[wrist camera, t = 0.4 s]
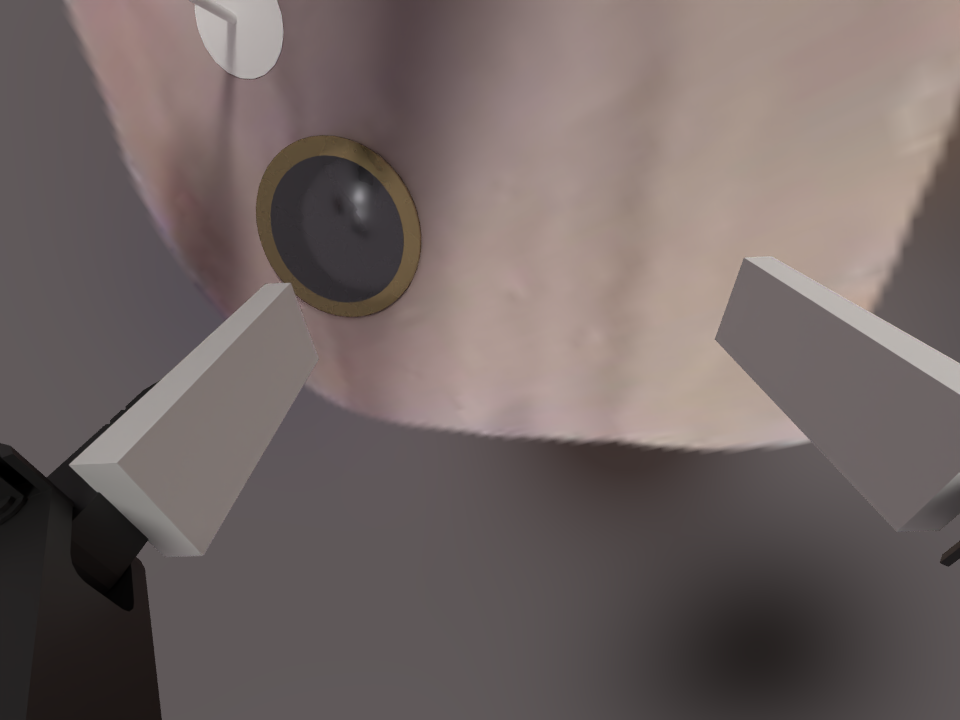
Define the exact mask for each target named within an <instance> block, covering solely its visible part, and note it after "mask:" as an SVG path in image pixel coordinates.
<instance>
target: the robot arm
mask: <svg viewBox="0 0 960 720" xmlns="http://www.w3.org/2000/svg"><path fill="white" fill-rule="evenodd" d="M715 340H716V341H717V342H718V343H719V344H720V345H721V346H722V347H723V348H724V350H725V351H726V352H727V353H728V354H729V355H730V356H731V357H732V358H733V359H734V360H735V361H736V362H737V363H738V364H739V365H740V366H741V367H742V369H743V370H744V371H745V372H746V373H747V374H748V375H749V376H750V377H751V378H752V379H753V380H754V381H755V382H756V383H757V384H758V385H759V387H760V388H761V389H762V390H763V391H764V392H765V393H766V394H767V395H768V396H769V397H770V398H771V399H772V400H773V401H774V402H775V403H776V405H777V406H778V407H779V408H780V409H781V410H782V411H783V412H784V413H785V414H786V415H787V416H788V417H789V418H790V419H791V420H792V421H793V423H794V424H795V425H796V426H797V427H798V428H799V429H800V430H801V431H802V432H803V433H804V434H805V435H806V436H807V437H808V438H809V439H810V440H811V442H812V443H813V444H814V445H815V446H816V447H817V448H818V449H819V450H820V451H821V452H822V453H823V454H824V455H825V456H826V457H827V458H828V460H829V461H830V462H831V463H832V464H833V465H834V466H835V467H836V468H837V469H838V470H839V471H840V472H841V473H842V474H843V475H844V476H845V477H846V479H847V480H848V481H849V482H850V483H851V484H852V485H853V486H854V487H855V488H856V489H857V490H858V491H859V492H860V493H861V494H862V496H864V498H866V500H867V501H868V502H869V503H870V504H871V505H872V506H873V507H874V508H875V509H876V510H877V511H878V512H879V513H880V515H881V516H882V517H883V518H884V519H885V520H886V521H887V522H888V523H889V524H890V525H891V526H892V527H893V528H894V529H895V530H896V531H897V532H909V531H934V530H935V531H938V530H941V529H942V528H943V527H944V526H945V525H947V524H948V523H949V522H950V521H951V520H952V519H954V518H955V517H956V516H957V515H958V514H959V513H960V363H958V362H956V361H954V360H953V359H951V358H949V357H947V356H946V355H944V354H942V353H940V352H939V351H937V350H935V349H933V348H932V347H930V346H928V345H926V344H925V343H923V342H921V341H919V340H918V339H916V338H914V337H912V336H911V335H909V334H907V333H905V332H904V331H902V330H900V329H898V328H897V327H895V326H893V325H891V324H890V323H888V322H886V321H884V320H883V319H881V318H879V317H877V316H876V315H874V314H872V313H870V312H869V311H867V310H865V309H863V308H862V307H860V306H858V305H856V304H855V303H853V302H851V301H849V300H848V299H846V298H844V297H842V296H841V295H839V294H837V293H835V292H834V291H832V290H830V289H828V288H827V287H825V286H823V285H821V284H820V283H818V282H816V281H814V280H813V279H811V278H809V277H807V276H805V275H804V274H802V273H800V272H798V271H797V270H795V269H793V268H791V267H790V266H788V265H786V264H784V263H783V262H781V261H779V260H777V259H776V258H774V257H772V256H765V257H747V258H744V259H743V262H742V265H741V268H740V270H739V273H738V276H737V279H736V282H735V284H734V287H733V290H732V293H731V296H730V298H729V301H728V304H727V307H726V310H725V312H724V315H723V318H722V321H721V324H720V326H719V329H718V332H717V335H716V338H715ZM318 360H319V358H318V355H317V352H316V349H315V347H314V344H313V341H312V339H311V336H310V333H309V331H308V328H307V325H306V322H305V320H304V317H303V314H302V312H301V309H300V306H299V304H298V301H297V298H296V295H295V293H294V290H293V287H292V285H291V283H275V284H265V285H264V286H263V287H262V288H260V289H259V290H258V291H257V292H256V293H255V294H254V295H253V296H252V297H251V298H250V299H248V300H247V301H246V302H245V303H244V304H243V305H242V306H241V307H240V308H239V309H238V310H237V311H235V312H234V313H233V314H232V315H231V316H230V317H229V318H228V319H227V320H226V321H225V322H223V323H222V324H221V325H220V326H219V327H218V328H217V329H216V330H215V331H214V332H213V333H211V334H210V335H209V336H208V337H207V338H206V339H205V340H204V341H203V342H202V343H201V344H200V345H198V346H197V347H196V348H195V349H194V350H193V351H192V352H191V353H190V354H189V355H188V356H186V357H185V358H184V359H183V360H182V361H181V362H180V363H179V364H178V365H177V366H176V367H174V368H173V369H172V370H171V371H170V372H169V373H168V374H167V375H166V376H165V377H164V378H163V379H161V380H160V381H158V382H157V383H155V384H153V385H151V386H150V387H148V388H146V389H145V390H143V391H142V392H141V393H140V394H139V395H138V396H137V397H136V398H135V399H134V400H132V401H131V402H130V403H129V404H128V405H127V406H126V409H125V410H121V411H120V412H119V413H118V414H117V415H116V416H114V417H113V418H112V419H111V420H110V424H106V425H105V426H103V427H102V428H101V429H100V430H99V431H98V432H97V433H96V434H95V435H93V436H92V437H91V438H90V439H89V440H88V441H87V442H86V443H85V444H83V445H82V447H80V448H79V449H78V450H77V451H76V452H75V453H74V454H72V455H71V456H70V457H69V458H68V459H67V460H66V461H65V462H63V463H62V464H61V465H60V466H59V467H58V468H57V469H56V470H55V471H54V472H52V473H51V474H50V475H49V476H48V477H47V478H46V477H45V476H44V475H43V474H42V473H41V472H39V471H38V470H37V469H36V468H35V467H34V466H33V465H31V464H30V463H29V462H28V461H27V460H26V459H25V458H24V457H22V456H21V455H20V454H19V453H18V452H17V451H16V450H15V449H13V448H12V447H11V446H9V445H5V444H1V443H0V720H162V718H161V709H160V700H159V691H158V683H157V674H156V664H155V656H154V646H153V637H152V628H151V619H150V610H149V601H148V593H147V584H146V575H145V568H144V566H143V564H142V562H141V561H140V560H139V559H138V558H137V557H136V556H137V554H138V553H139V552H140V550H141V549H142V548H143V546H144V545H145V543H146V542H147V541H149V542H150V543H151V544H152V545H153V546H154V547H155V548H156V549H157V550H158V551H159V552H160V553H161V554H162V555H163V556H164V557H179V556H203V555H204V553H205V552H206V550H207V548H208V547H209V545H210V543H211V541H212V540H213V538H214V536H215V535H216V533H217V531H218V530H219V528H220V526H221V524H222V523H223V521H224V519H225V518H226V516H227V514H228V513H229V511H230V509H231V508H232V506H233V504H234V502H235V501H236V499H237V497H238V495H239V494H240V492H241V490H242V489H243V487H244V485H245V484H246V482H247V480H248V479H249V477H250V475H251V473H252V472H253V470H254V468H255V466H256V465H257V463H258V461H259V460H260V458H261V457H262V455H263V453H264V451H265V450H266V448H267V446H268V445H269V443H270V441H271V440H272V438H273V436H274V434H275V433H276V431H277V429H278V428H279V426H280V424H281V422H282V421H283V419H284V417H285V416H286V414H287V412H288V410H289V409H290V407H291V406H292V403H293V402H294V400H295V399H296V397H297V395H298V394H299V392H300V390H301V389H302V387H303V385H304V383H305V382H306V380H307V378H308V377H309V375H310V373H311V372H312V370H313V368H314V366H315V365H316V363H317V361H318ZM959 558H960V541H959V542H958V543H956V544H955V545H954V546H953V547H951V548H950V549H949V550H948V551H946V552H945V553H944V554H943V555H942V557H941V561H940V563H941V564H944V565H946V566H950V565H951V564H953V563H954V562H955V561H957V560H958V559H959Z"/></svg>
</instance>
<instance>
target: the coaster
mask: <svg viewBox="0 0 960 720" xmlns="http://www.w3.org/2000/svg"><path fill="white" fill-rule="evenodd" d="M256 219H257V227H258V233H259V236H260V240H261V244H262V246H263V249H264V251H265V254H266V256H267V258H268V260H269V262H270V264H271V266H272V267H273V269H274V270H275V272H276V273H277V275H278V276H279V277H280V279H281V280H282V281H283V282H284V283H291V285H292V287H293V290H294V293H295V294H296V295H297V296H298V297H299V298H301V299H302V300H303V301H305V302H306V303H308V304H310V305H311V306H313V307H315V308H317V309H319V310H322V311H324V312H327V313H330V314H334V315H338V316H346V317H358V316H365V315H369V314H373V313H376V312H378V311H380V310H382V309H384V308H386V307H387V306H389V305H390V304H392V303H393V302H395V301H396V300H397V299H398V298H399V297H400V296H401V295H402V294H403V293H404V291H405V290H406V289H407V288H408V286H409V284H410V283H411V281H412V279H413V277H414V275H415V272H416V270H417V267H418V263H419V259H420V253H421V229H420V222H419V218H418V213H417V210H416V207H415V204H414V202H413V199H412V197H411V195H410V193H409V191H408V189H407V187H406V185H405V184H404V182H403V181H402V179H401V178H400V176H399V175H398V174H397V173H396V172H395V170H394V169H393V168H392V167H391V166H390V165H389V164H388V163H387V162H386V161H385V160H384V159H383V158H382V157H380V156H379V155H378V154H376V153H375V152H374V151H372V150H371V149H369V148H367V147H365V146H363V145H362V144H360V143H357V142H354V141H352V140H349V139H345V138H341V137H336V136H324V135H321V136H312V137H308V138H304V139H300V140H298V141H296V142H294V143H292V144H290V145H289V146H287V147H286V148H284V149H283V150H282V151H281V152H280V153H279V154H278V155H277V156H276V157H275V158H274V159H273V160H272V162H271V163H270V164H269V166H268V167H267V169H266V171H265V173H264V175H263V177H262V180H261V183H260V186H259V190H258V195H257V203H256Z"/></svg>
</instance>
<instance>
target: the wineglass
mask: <svg viewBox="0 0 960 720" xmlns="http://www.w3.org/2000/svg"><path fill="white" fill-rule="evenodd" d="M189 1H190V2H192V3H194V4H195V16H196V21H197V27H198V31H199V33H200V36H201V38H202V40H203V43H204V45H205V47H206V49H207V50H208V52H209V53H210V55H211V56H212V58H213V59H214V60H215V62H216V63H217V64H219V65H220V66H221V67H222V68H223V69H224V70H225V71H227V72H228V73H230V74H232V75H234V76H237V77H239V78H243V79H255V78H258V77H260V76H263V75H265V74H266V73H267V72H268V71H269V70H270V69H271V68H272V67H273V66H274V65H275V64H276V61H277V59H278V57H279V55H280V52H281V49H282V41H283V34H284V32H283V23H282V14H281V11H280V8H279V5H278V2H277V0H189Z"/></svg>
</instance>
